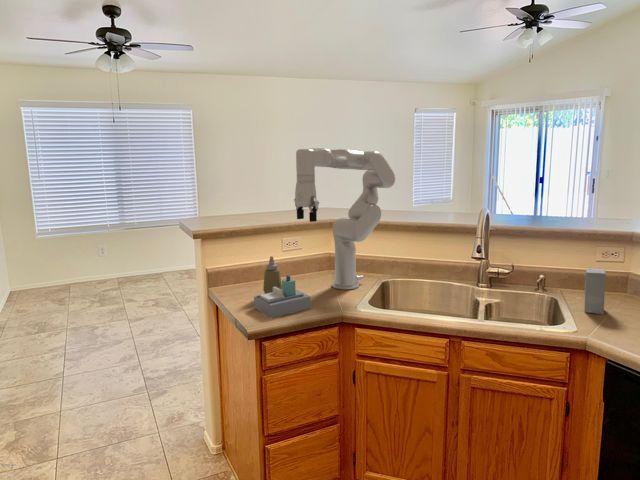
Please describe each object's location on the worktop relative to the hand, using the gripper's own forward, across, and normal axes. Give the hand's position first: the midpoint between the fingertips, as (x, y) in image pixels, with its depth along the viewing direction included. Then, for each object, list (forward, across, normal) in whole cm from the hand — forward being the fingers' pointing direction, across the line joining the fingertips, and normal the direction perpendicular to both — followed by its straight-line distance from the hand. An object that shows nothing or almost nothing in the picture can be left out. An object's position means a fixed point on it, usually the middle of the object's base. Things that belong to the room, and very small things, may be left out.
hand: (306, 220), depth 195 cm
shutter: (+28, +7, -21) cm, 36 cm away
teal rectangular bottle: (+32, +7, -14) cm, 36 cm away
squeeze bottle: (+34, -8, -13) cm, 37 cm away
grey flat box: (+33, +7, -17) cm, 38 cm away
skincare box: (+34, +82, +77) cm, 117 cm away
